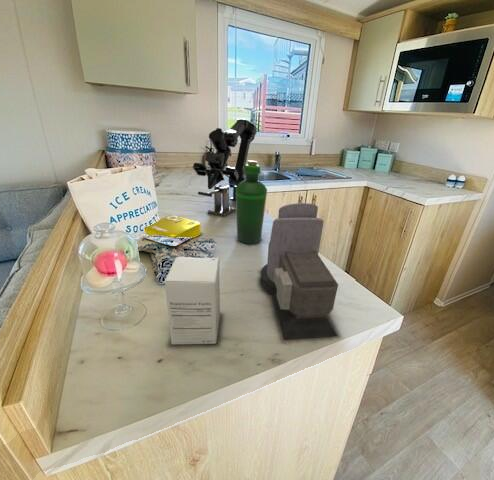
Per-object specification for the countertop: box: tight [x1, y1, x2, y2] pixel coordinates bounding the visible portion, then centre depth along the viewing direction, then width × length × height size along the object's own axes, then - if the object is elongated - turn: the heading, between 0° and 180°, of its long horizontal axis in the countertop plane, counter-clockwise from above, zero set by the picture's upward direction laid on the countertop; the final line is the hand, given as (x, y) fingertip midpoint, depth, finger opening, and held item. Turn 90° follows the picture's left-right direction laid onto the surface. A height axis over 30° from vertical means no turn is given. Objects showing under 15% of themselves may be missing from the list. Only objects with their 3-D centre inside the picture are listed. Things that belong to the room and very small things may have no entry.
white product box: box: [164, 256, 221, 345], centre depth 55 cm, size 9×9×15 cm
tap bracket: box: [207, 184, 236, 217], centre depth 123 cm, size 10×8×12 cm
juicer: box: [260, 202, 339, 341], centre depth 66 cm, size 30×16×24 cm, turn 10°
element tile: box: [144, 214, 202, 239], centre depth 97 cm, size 15×15×5 cm
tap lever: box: [197, 186, 224, 198], centre depth 116 cm, size 15×6×2 cm, turn 159°
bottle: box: [235, 159, 268, 245], centre depth 95 cm, size 11×11×28 cm
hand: (209, 188), depth 112 cm, fingers closed
